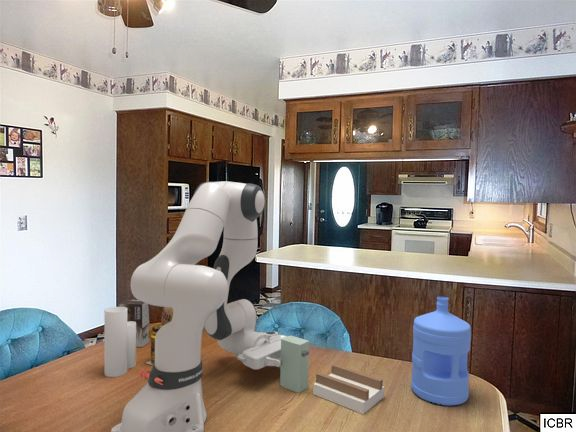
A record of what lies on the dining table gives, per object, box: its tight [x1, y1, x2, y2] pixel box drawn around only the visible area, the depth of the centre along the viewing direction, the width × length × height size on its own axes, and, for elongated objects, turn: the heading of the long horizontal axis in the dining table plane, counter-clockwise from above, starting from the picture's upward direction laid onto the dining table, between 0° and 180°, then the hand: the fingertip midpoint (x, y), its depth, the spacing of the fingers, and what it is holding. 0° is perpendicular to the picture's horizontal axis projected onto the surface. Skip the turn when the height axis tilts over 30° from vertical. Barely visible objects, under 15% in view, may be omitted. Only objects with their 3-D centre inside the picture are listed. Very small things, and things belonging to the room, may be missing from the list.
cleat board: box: [312, 363, 385, 415], centre depth 114 cm, size 12×16×6 cm
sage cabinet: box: [279, 335, 310, 394], centre depth 118 cm, size 4×8×14 cm, turn 51°
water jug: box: [410, 296, 472, 406], centre depth 116 cm, size 16×16×28 cm
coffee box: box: [118, 298, 151, 348], centre depth 150 cm, size 9×6×16 cm
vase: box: [103, 306, 137, 378], centre depth 128 cm, size 11×7×20 cm, turn 174°
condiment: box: [146, 323, 164, 366], centre depth 135 cm, size 7×8×12 cm
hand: (291, 358), depth 119 cm, fingers open, 8 cm apart
